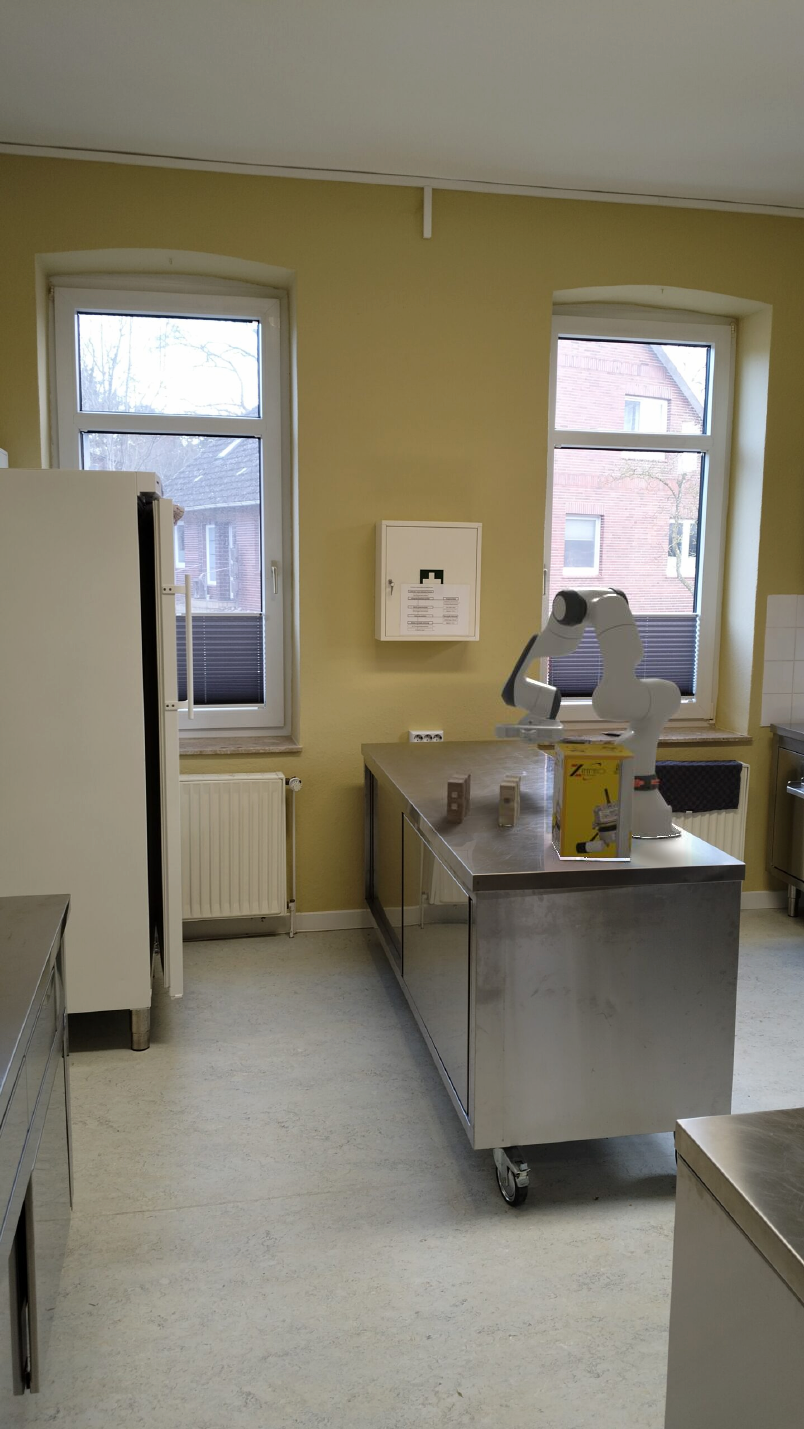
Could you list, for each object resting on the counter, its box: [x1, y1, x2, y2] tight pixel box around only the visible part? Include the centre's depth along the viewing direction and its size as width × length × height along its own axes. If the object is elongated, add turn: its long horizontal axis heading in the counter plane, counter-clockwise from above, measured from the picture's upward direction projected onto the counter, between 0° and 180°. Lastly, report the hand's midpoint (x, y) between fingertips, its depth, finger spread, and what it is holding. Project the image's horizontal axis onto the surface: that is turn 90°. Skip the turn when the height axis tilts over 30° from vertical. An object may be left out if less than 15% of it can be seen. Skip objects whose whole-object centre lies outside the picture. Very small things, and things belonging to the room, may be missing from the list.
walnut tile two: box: [446, 771, 472, 824], centre depth 275 cm, size 14×4×11 cm, turn 167°
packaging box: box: [550, 743, 635, 858], centre depth 240 cm, size 16×16×25 cm
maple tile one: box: [498, 774, 521, 827], centre depth 272 cm, size 14×4×11 cm, turn 167°
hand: (527, 735), depth 292 cm, fingers closed
